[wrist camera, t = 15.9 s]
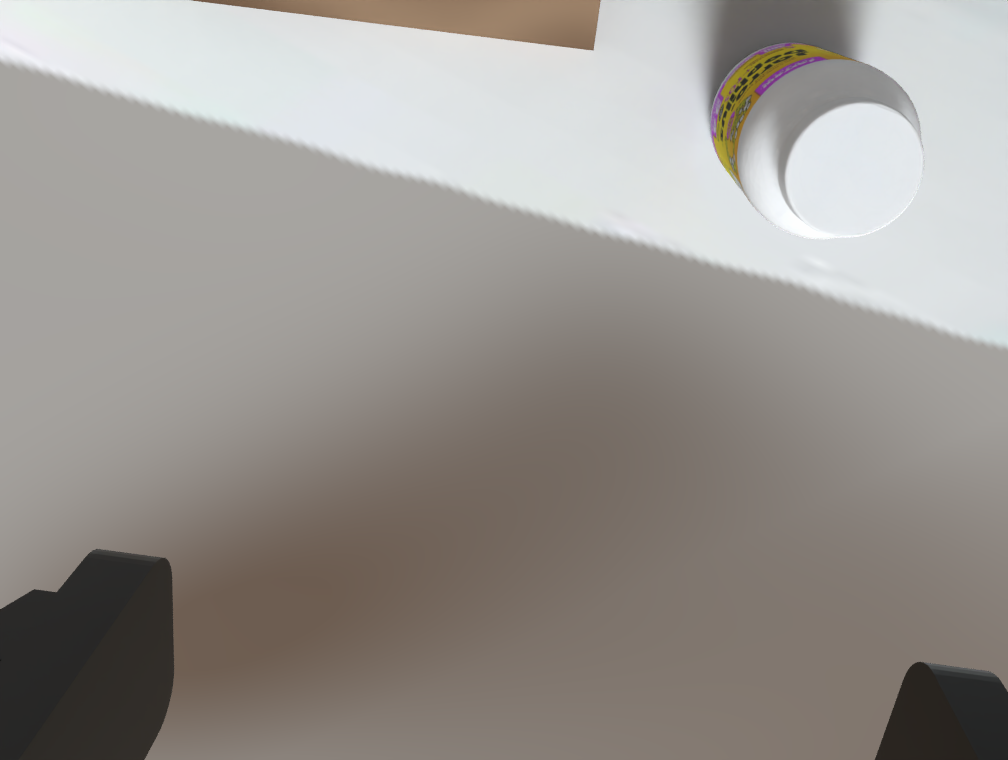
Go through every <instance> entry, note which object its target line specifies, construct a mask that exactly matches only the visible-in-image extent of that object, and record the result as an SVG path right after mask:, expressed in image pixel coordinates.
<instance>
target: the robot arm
mask: <svg viewBox="0 0 1008 760" xmlns="http://www.w3.org/2000/svg"><path fill="white" fill-rule="evenodd" d="M172 597H173V596H172V572H171V566H170V563H169V561H168V560H167V559H166V558H160V557H153V556H146V555H138V554H131V553H124V552H116V551H109V550H101V549H96V550H93V551H92V552H90V553H89V554H88V555H87V556H86V557H85V558H84V560H83V561H82V562H81V563H80V565H79V566H78V567H77V568H76V570H75V571H74V572H73V573H72V574H71V575H70V577H69V578H68V579H67V581H66V582H65V583H64V584H63V585H62V587H61V588H60V589H59V590H58V592H49V591H42V590H35V589H34V590H32V591H31V592H29V593H27V594H25V595H24V596H22V597H20V598H19V599H17V600H15V601H14V602H12V603H10V604H9V605H7V606H6V607H4V608H2V609H0V760H144V759H145V758H146V756H147V754H148V751H149V750H150V748H151V746H152V744H153V742H154V741H155V739H156V737H157V735H158V733H159V731H160V729H161V726H162V724H163V722H164V719H165V716H166V713H167V709H168V706H169V702H170V697H171V693H172V687H173V678H174V645H173V601H172V600H173V599H172ZM875 760H1008V692H1007V690H1006V689H1005V687H1004V685H1003V684H1002V682H1001V681H1000V679H999V678H998V677H997V676H996V675H995V674H993V673H991V672H989V671H983V670H976V669H968V668H960V667H953V666H946V665H939V664H931V663H924V662H917V663H915V664H913V665H912V666H911V667H910V668H909V669H908V671H907V673H906V675H905V677H904V680H903V682H902V685H901V688H900V691H899V694H898V697H897V699H896V702H895V705H894V708H893V710H892V713H891V716H890V719H889V722H888V724H887V727H886V730H885V733H884V736H883V738H882V741H881V744H880V747H879V750H878V753H877V755H876V758H875Z"/></svg>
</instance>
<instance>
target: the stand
mask: <svg viewBox="0 0 1008 760" xmlns="http://www.w3.org/2000/svg"><path fill="white" fill-rule="evenodd" d="M193 1H201V2H209V3H217V4H225V5H233V6H241V7H249V8H257V9H265V10H273V11H281V12H289V13H297V14H305V15H313V16H321V17H329V18H337V19H345V20H353V21H361V22H369V23H377V24H385V25H393V26H401V27H409V28H417V29H425V30H433V31H441V32H449V33H457V34H465V35H473V36H481V37H490V38H498V39H506V40H514V41H522V42H530V43H538V44H546V45H554V46H562V47H570V48H578V49H586V50H593V49H594V42H595V35H596V28H597V21H598V14H599V7H600V0H193Z"/></svg>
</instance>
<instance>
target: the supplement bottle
mask: <svg viewBox="0 0 1008 760" xmlns="http://www.w3.org/2000/svg"><path fill="white" fill-rule="evenodd" d="M710 131H711V138H712V143H713V146H714V149H715V151H716V154H717V156H718V158H719V160H720V162H721V163H722V165H723V166H724V168H725V169H726V171H727V172H728V173H729V174H730V176H731V177H732V178H733V180H734V181H735V183H736V184H737V185H738V187H739V188H740V189H741V190H742V192H743V193H744V194H745V196H746V197H747V199H748V200H749V202H750V203H751V204H752V206H753V207H754V208H755V209H756V210H757V211H758V212H759V213H760V214H761V215H762V216H763V217H764V218H765V219H766V220H767V221H768V222H770V223H771V224H772V225H774V226H775V227H777V228H779V229H781V230H782V231H785V232H787V233H789V234H792V235H795V236H799V237H803V238H809V239H831V238H838V237H857V236H862V235H866V234H869V233H872V232H875V231H877V230H879V229H881V228H883V227H885V226H887V225H888V224H889V223H891V222H892V221H893V220H895V219H896V218H897V217H898V216H900V215H901V214H902V212H903V211H904V210H905V209H906V208H907V207H908V206H909V204H910V203H911V201H912V200H913V198H914V196H915V195H916V193H917V190H918V188H919V186H920V183H921V180H922V176H923V171H924V151H923V145H922V142H921V130H920V123H919V119H918V115H917V112H916V110H915V107H914V105H913V103H912V101H911V100H910V98H909V96H908V95H907V93H906V92H905V91H904V90H903V88H902V87H901V86H900V85H899V84H898V83H897V82H896V81H894V80H893V79H892V78H891V77H889V76H888V75H887V74H885V73H884V72H882V71H880V70H878V69H876V68H874V67H872V66H870V65H868V64H865V63H862V62H859V61H856V60H853V59H850V58H847V57H844V56H841V55H839V54H836V53H833V52H830V51H827V50H824V49H822V48H818V47H815V46H812V45H807V44H802V43H780V44H775V45H771V46H767V47H764V48H762V49H759V50H757V51H755V52H753V53H752V54H750V55H749V56H747V57H746V58H744V59H743V60H742V61H740V62H739V63H738V64H737V65H736V66H735V67H734V68H733V69H732V70H731V71H730V72H729V73H728V75H727V76H726V78H725V79H724V81H723V82H722V84H721V85H720V87H719V89H718V91H717V94H716V96H715V99H714V102H713V106H712V110H711V117H710Z"/></svg>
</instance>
